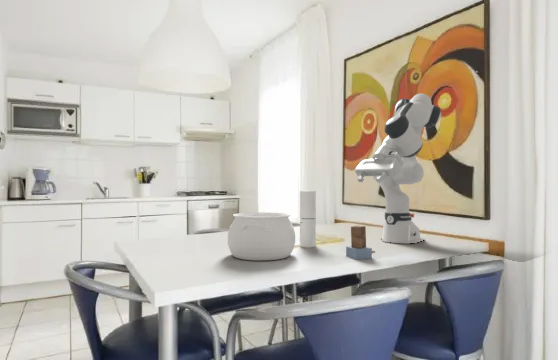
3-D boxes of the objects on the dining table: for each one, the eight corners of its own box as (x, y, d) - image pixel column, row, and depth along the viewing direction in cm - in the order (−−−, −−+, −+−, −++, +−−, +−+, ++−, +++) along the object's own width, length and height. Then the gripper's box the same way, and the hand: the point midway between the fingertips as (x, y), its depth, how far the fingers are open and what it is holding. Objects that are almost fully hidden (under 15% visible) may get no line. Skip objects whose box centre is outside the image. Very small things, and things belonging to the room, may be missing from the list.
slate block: (361, 255, 149) (361, 245, 149) (371, 258, 142) (371, 248, 142) (346, 256, 146) (346, 246, 146) (355, 260, 140) (355, 249, 140)
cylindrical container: (310, 247, 165) (310, 191, 165) (296, 246, 169) (296, 190, 170) (318, 245, 171) (318, 190, 171) (305, 244, 175) (305, 190, 175)
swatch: (361, 249, 160) (361, 248, 160) (375, 252, 155) (375, 251, 155) (353, 251, 157) (353, 250, 157) (367, 253, 152) (367, 252, 152)
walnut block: (357, 245, 147) (356, 225, 147) (366, 246, 144) (365, 226, 144) (351, 247, 144) (350, 226, 144) (360, 248, 141) (359, 227, 141)
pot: (288, 265, 130) (288, 218, 130) (215, 262, 135) (216, 217, 135) (300, 250, 159) (300, 212, 159) (240, 248, 164) (240, 211, 164)
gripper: (361, 154, 167) (345, 175, 161) (401, 152, 151) (386, 175, 145) (367, 165, 170) (352, 186, 163) (407, 163, 154) (392, 187, 147)
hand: (368, 181), depth 154 cm, fingers open, 8 cm apart
